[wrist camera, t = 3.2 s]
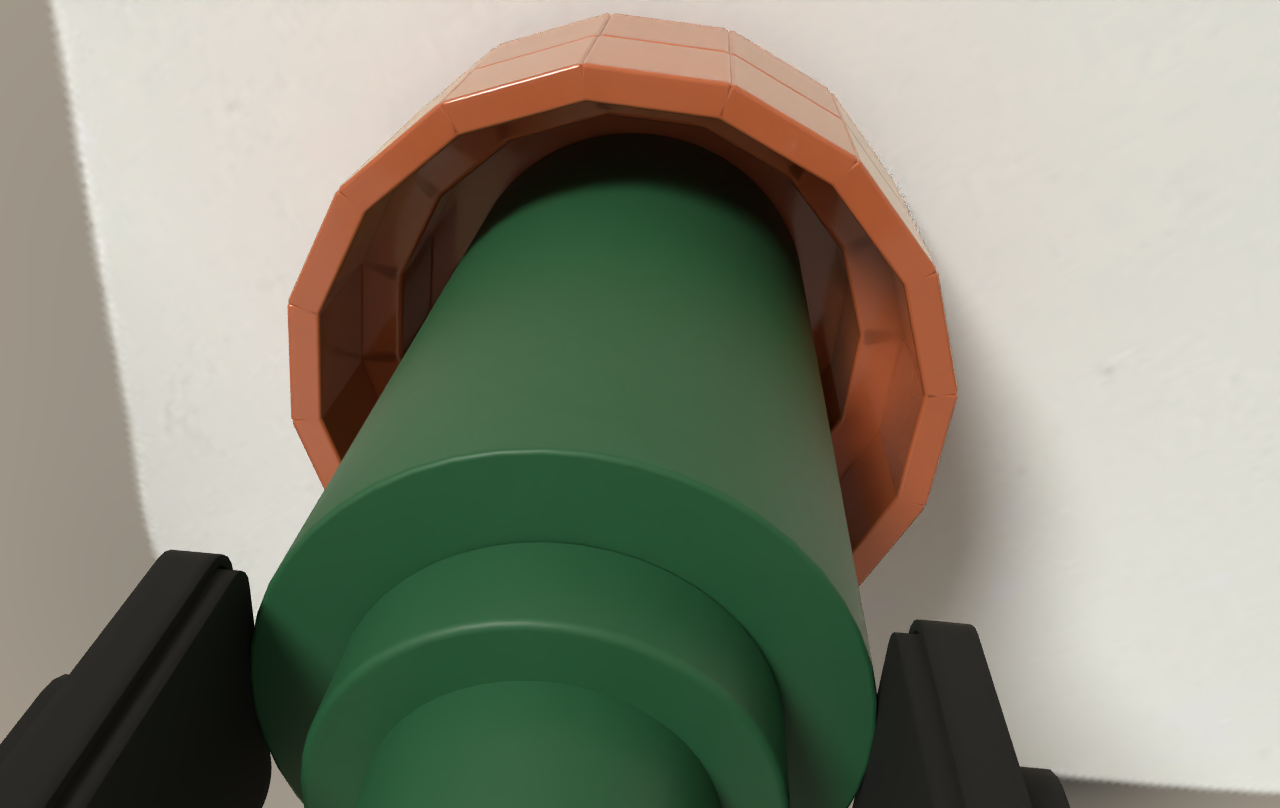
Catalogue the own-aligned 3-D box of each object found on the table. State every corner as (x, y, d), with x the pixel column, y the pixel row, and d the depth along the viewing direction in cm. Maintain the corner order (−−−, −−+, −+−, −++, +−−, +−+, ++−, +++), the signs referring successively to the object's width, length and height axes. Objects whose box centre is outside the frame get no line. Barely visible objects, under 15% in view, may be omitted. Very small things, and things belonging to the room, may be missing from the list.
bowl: (270, 236, 21) (152, 345, 17) (688, -119, 18) (677, -101, 13) (599, 582, 24) (573, 749, 20) (1003, 336, 21) (1078, 472, 17)
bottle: (402, 266, 21) (-251, 1178, 7) (665, 58, 19) (503, 752, 5) (610, 495, 23) (437, 1553, 9) (868, 329, 21) (1173, 1373, 7)
